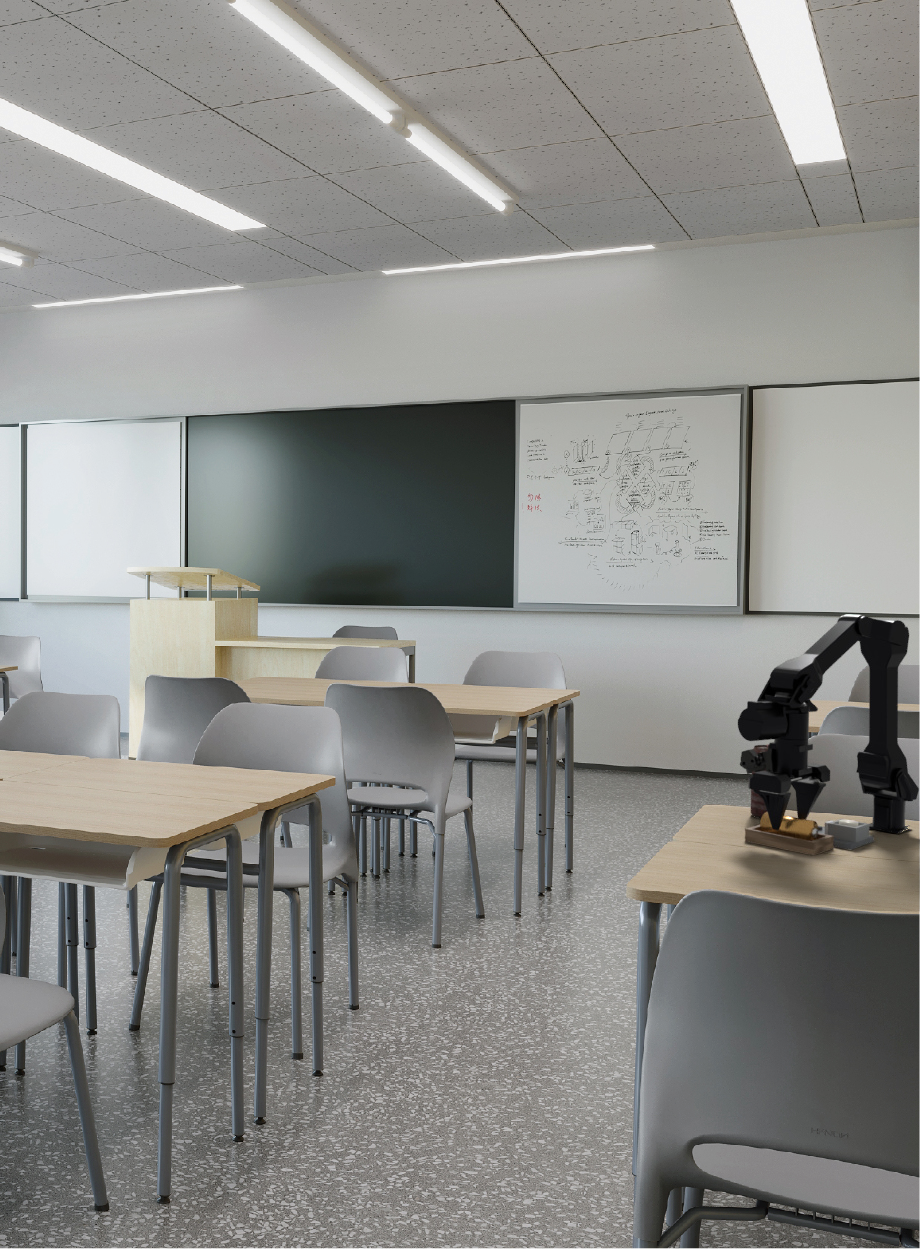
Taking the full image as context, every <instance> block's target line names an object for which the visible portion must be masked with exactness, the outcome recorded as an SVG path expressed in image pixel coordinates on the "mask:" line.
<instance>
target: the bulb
mask: <svg viewBox="0 0 920 1249" xmlns="http://www.w3.org/2000/svg"><path fill="white" fill-rule="evenodd" d="M838 820H839V819H838ZM858 822H859V821H857V820H852V819H845V820H839V824H840V825H845V826H851V827H857V826H858Z"/></svg>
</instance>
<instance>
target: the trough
mask: <svg viewBox="0 0 920 1249" xmlns="http://www.w3.org/2000/svg"><path fill="white" fill-rule="evenodd" d="M744 832H745V834H744V841H745V842H747V843H753V844H757V845H762V846H767V847H771V848H776V849H781V850H786V851H791V852H795V853H801V854H805V855H809V856H816V855H818V854H821V853H825V852H827V851H829V850H832V849H834V846H833V839H834V836H831V835H826V834H821V833H818V837H817V839H816V840H813V841H809V840H804V839H799V838H794V837H789V836H784V835H779V834H774V833H769V832H764V831H761V830H760V824H758V825H754V826H750V827H747V828H745V830H744Z"/></svg>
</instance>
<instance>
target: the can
mask: <svg viewBox="0 0 920 1249" xmlns="http://www.w3.org/2000/svg"><path fill="white" fill-rule="evenodd" d="M752 749H754V750H755V752H756V753H761V752H765V751H768V744H757V745H754V746H753V748H752ZM764 771H766V770H764ZM759 772H760V771H759ZM753 773H755V772H753ZM753 773H751V775H752V774H753ZM766 812H767V809H766V806H765V803H764V801H763V799H762V798H761V797H760V796H759V795H758V794H757V793H754V792H753V790H752V789H750V814H751V816H752V817H753V818H756V819H760V820H761V818H762V816H763V814H764V813H766Z"/></svg>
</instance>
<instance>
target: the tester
mask: <svg viewBox="0 0 920 1249" xmlns="http://www.w3.org/2000/svg"><path fill="white" fill-rule="evenodd" d="M839 820H846V819H844V818H839V819H837V820H828V821H825V822H824V826H820V825H818V833H821V834H826V835H831V836H834V839H833V848H840V849H843V850H844V849H845V850H849V851H851V850H854V849H857V848H860V847H863V846H866V845H869V844H871V843H873V842H875V841H874V835H871V834H870V828H869V824H870V823H868V822H867V823H866V822H860V821H857V822H858V826H857V827H851V826H845V825H840V824H839Z"/></svg>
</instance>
